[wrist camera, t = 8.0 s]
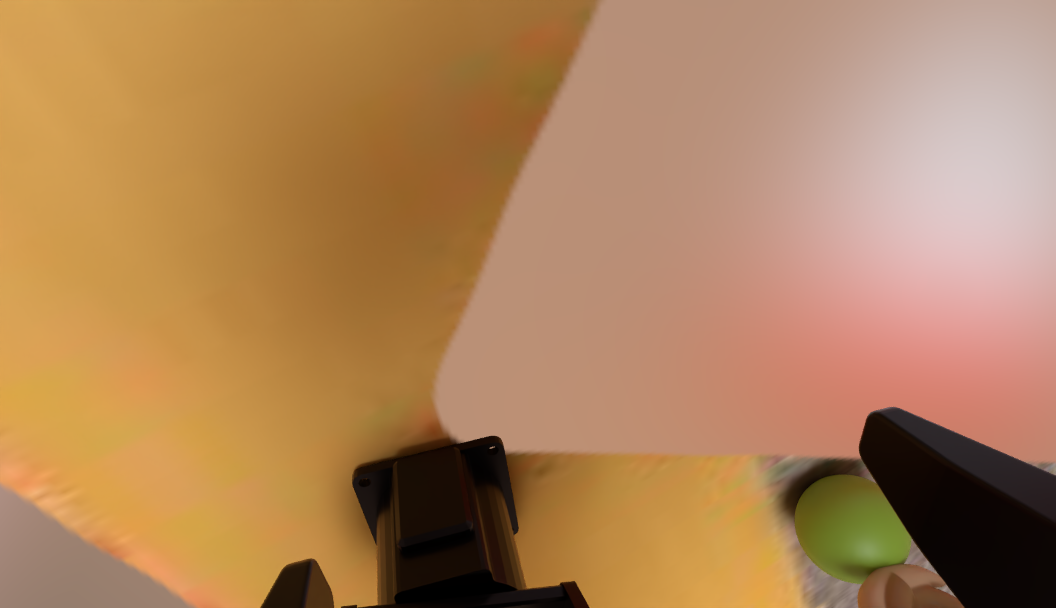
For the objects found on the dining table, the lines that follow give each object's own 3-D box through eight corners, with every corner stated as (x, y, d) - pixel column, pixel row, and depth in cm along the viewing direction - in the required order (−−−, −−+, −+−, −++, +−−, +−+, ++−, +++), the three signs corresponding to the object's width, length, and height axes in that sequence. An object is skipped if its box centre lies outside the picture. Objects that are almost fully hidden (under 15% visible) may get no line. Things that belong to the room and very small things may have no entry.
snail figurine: (774, 461, 31) (963, 702, 22) (875, 448, 33) (1095, 668, 23) (748, 528, 34) (904, 770, 24) (842, 513, 36) (1025, 736, 26)
